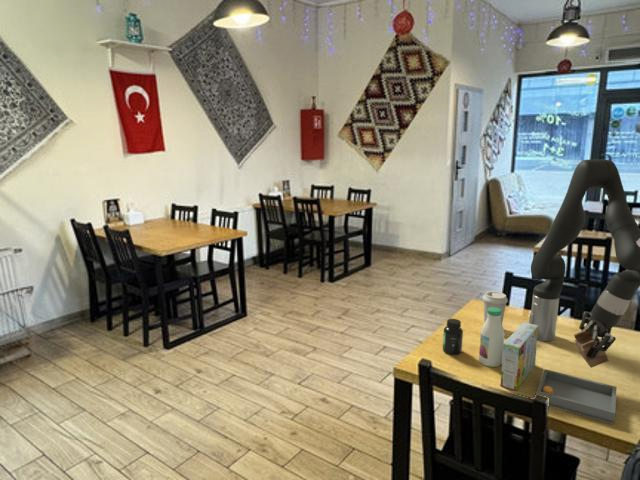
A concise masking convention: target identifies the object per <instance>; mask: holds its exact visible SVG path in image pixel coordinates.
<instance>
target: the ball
mask: <svg viewBox="0 0 640 480" xmlns="http://www.w3.org/2000/svg"><path fill="white" fill-rule="evenodd" d="M542 392H545V393H549V394H553V389H552V388H551V387H550V386H545V387H543V389H542Z"/></svg>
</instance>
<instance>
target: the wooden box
mask: <svg viewBox="0 0 640 480" xmlns="http://www.w3.org/2000/svg"><path fill="white" fill-rule="evenodd" d="M589 331H590V328H589ZM589 331H585V330H584V331H582V332H581V331H580V332H579V331H578V332H577V333H575V334H573V336H574V342H575V344H576V346H577V349H578V351H579V353H580V355H581V357H582V358H583V359H584V361H585V362H586V363H587V365H588V366H589V368H590V369H591V368H596V367H597V366H599V365H602V364H604V363H607V362H609V361H610V360H609V357H608V355H607V353H606V352H604V351H600V350H599V352H598V353H597V355H596V357H595V358H588V357H587V356H586V355H587V353H588V352H589V350H590V348H591V347H592V345H593V343H594V340H593V339H592V338H593V333H592V332H591V331H590V332H589ZM597 338H598V339H600V337H597ZM599 343H600V341H598V342H597V345H598V344H599Z"/></svg>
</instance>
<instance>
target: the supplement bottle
mask: <svg viewBox="0 0 640 480" xmlns="http://www.w3.org/2000/svg"><path fill="white" fill-rule="evenodd" d="M461 323H462V321H461V320H460V319H457V318H449V319H447V320H446V326H445V327H444V328H443V335H442V351H443V352H444V353H445V354H447V355H450V356H458V355H460V354H461V353H462V352H463V351H462V350H463V339H464V338H463V337H464V330H463V329H462V327H461Z"/></svg>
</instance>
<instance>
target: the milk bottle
mask: <svg viewBox="0 0 640 480" xmlns="http://www.w3.org/2000/svg"><path fill="white" fill-rule="evenodd" d="M501 314H502V310H501V309H499V308H495V307H490V308H488V310H487V315H488V317H487V320H486V321H485V323H483V325H482V327H481V332H480V340H479V342H480V343H479V352H478V360H479V362H480V363H481V364H482V365H483V366H486V367H490V368H497V367H500V366H502V357H503V344H504V343H505V328H504V326H503V322H502V323H501V319H500V317H501Z"/></svg>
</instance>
